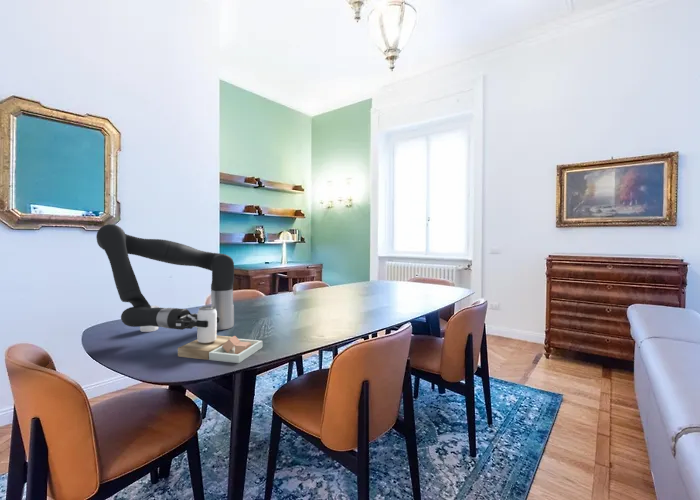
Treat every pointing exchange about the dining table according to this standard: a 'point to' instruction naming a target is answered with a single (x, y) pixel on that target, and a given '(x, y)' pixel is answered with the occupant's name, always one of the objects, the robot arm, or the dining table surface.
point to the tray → (222, 355)
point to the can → (211, 331)
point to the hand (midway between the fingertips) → (213, 321)
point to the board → (201, 348)
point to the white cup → (149, 328)
